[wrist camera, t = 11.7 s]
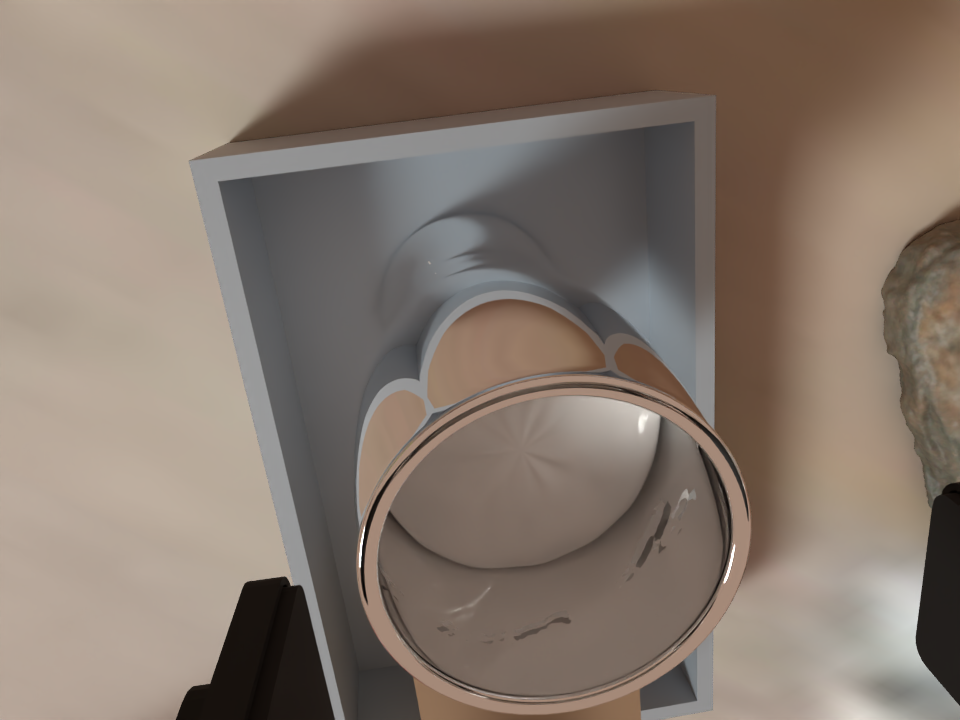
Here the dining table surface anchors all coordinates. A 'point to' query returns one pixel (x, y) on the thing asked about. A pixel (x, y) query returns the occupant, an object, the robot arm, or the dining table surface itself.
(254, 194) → the tote
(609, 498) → the beer glass
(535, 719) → the walnut block
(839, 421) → the dining table surface
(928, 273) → the elongated rock
